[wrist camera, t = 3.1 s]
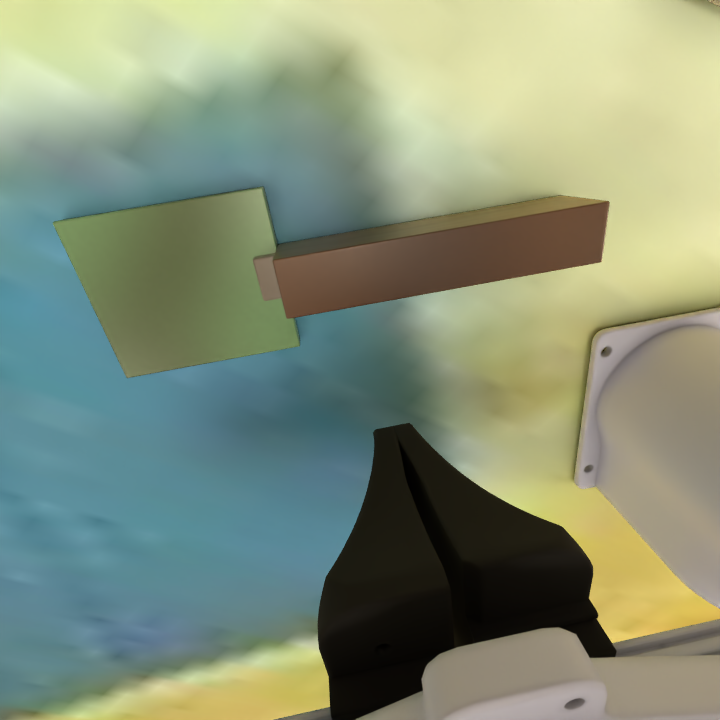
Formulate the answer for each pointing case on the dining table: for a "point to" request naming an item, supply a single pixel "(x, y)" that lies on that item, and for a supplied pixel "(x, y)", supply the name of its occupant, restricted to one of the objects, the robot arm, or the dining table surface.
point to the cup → (715, 2)
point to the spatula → (293, 268)
